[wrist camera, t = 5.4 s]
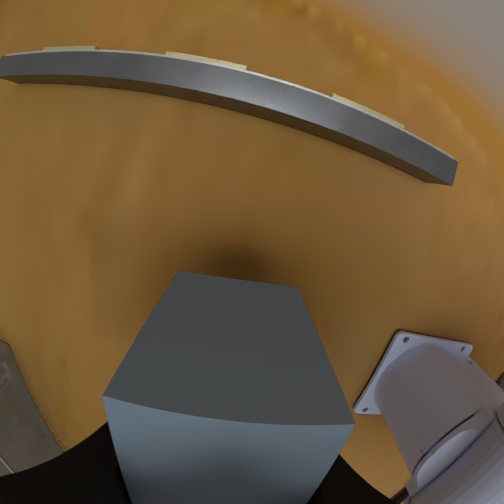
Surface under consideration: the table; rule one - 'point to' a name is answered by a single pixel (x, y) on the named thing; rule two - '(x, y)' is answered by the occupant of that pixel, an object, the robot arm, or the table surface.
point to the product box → (226, 398)
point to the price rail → (237, 99)
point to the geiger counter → (20, 422)
